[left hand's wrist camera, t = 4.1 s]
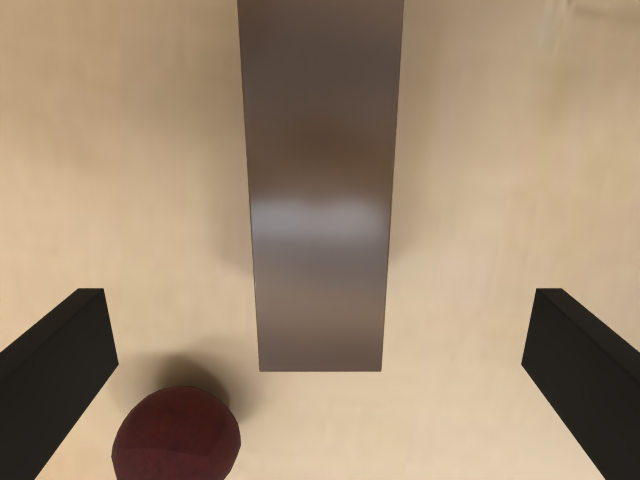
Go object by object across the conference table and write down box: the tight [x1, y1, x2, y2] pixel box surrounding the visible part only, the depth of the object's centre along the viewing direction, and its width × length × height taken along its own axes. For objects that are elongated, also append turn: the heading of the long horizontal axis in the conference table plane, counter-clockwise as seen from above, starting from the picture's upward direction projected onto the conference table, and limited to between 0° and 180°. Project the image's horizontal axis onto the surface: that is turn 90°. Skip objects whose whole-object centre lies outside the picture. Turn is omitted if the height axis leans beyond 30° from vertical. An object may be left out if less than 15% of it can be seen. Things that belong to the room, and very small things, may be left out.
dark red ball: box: [111, 386, 241, 480], centre depth 27 cm, size 7×8×7 cm
